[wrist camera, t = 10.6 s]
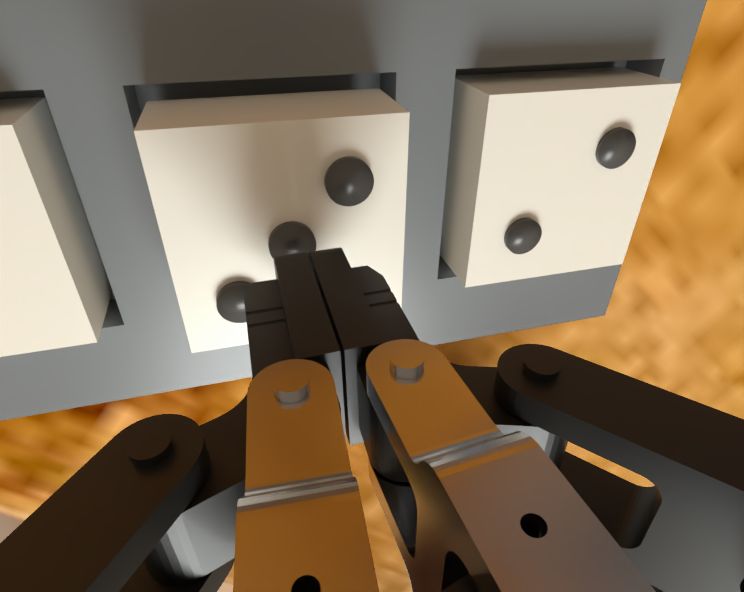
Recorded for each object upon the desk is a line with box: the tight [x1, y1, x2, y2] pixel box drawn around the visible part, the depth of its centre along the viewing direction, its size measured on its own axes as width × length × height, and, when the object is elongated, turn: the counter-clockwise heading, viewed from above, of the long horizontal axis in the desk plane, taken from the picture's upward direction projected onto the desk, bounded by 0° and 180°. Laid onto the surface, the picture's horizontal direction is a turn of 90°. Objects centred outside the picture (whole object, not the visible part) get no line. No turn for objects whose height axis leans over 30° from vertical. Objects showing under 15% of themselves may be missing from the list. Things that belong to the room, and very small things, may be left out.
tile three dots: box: [134, 88, 410, 353], centre depth 13 cm, size 6×6×3 cm
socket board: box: [0, 0, 707, 421], centre depth 15 cm, size 12×24×3 cm, turn 90°
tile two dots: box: [440, 67, 681, 288], centre depth 15 cm, size 6×6×3 cm
